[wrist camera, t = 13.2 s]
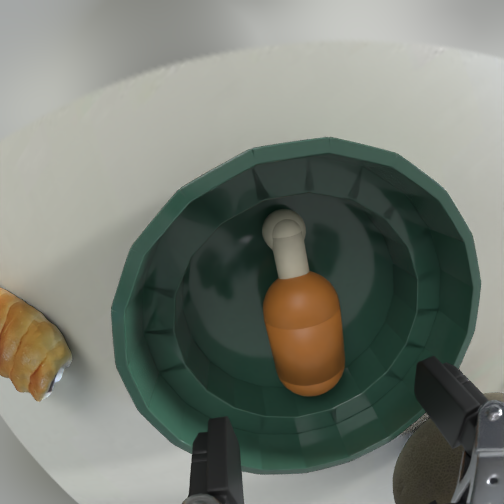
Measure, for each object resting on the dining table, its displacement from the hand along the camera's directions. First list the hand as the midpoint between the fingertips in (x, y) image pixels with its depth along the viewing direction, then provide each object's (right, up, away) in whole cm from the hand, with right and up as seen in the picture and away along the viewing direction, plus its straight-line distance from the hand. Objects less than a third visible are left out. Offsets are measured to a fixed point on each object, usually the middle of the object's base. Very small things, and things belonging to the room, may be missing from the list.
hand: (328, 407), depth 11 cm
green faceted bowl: (-1, +3, +7) cm, 8 cm away
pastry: (-20, 0, +7) cm, 21 cm away
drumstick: (-1, +3, +7) cm, 8 cm away
